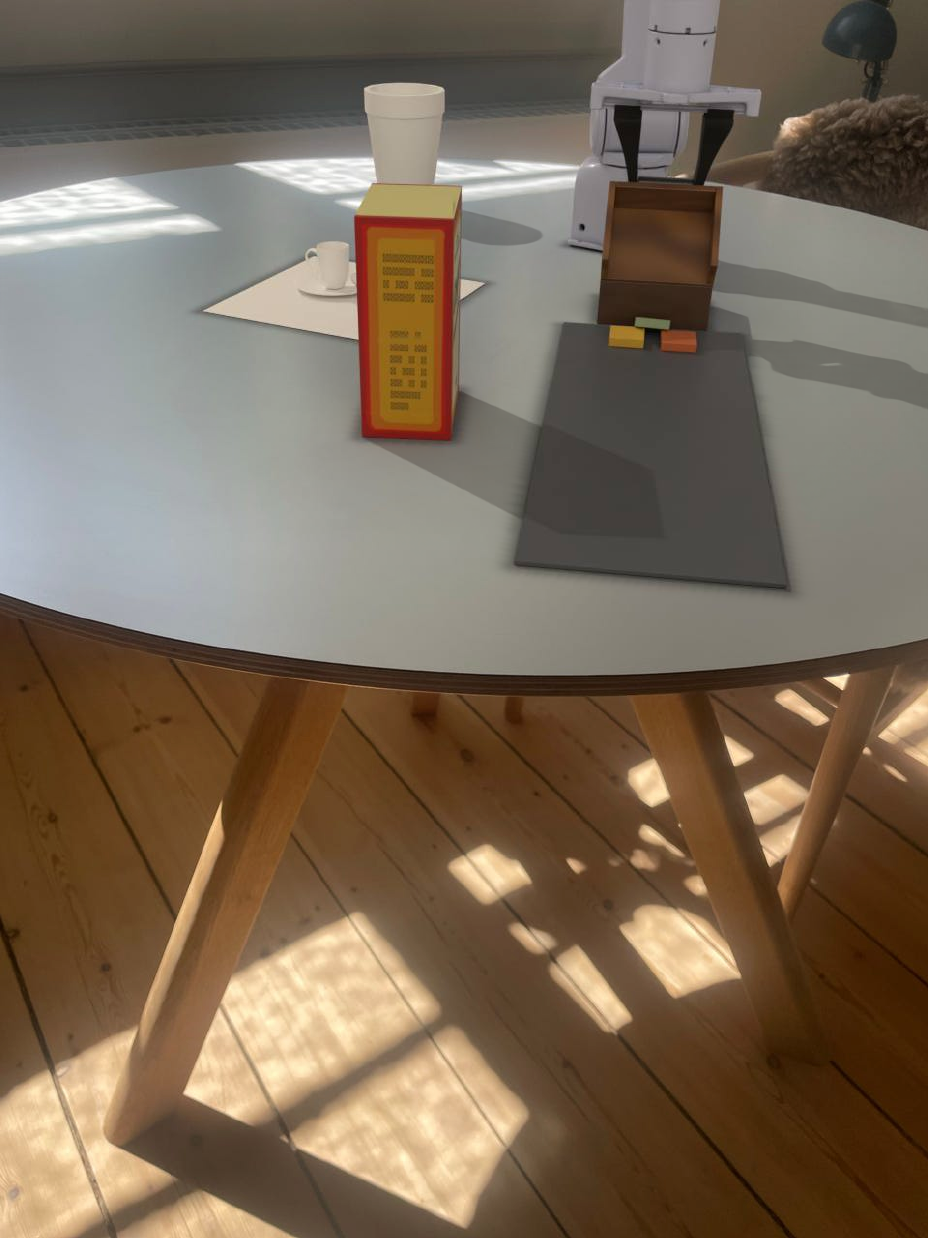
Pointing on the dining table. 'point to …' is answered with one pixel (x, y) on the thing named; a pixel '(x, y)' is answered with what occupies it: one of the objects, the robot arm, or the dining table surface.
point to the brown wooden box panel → (654, 303)
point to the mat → (651, 464)
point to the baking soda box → (409, 309)
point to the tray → (662, 231)
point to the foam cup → (405, 130)
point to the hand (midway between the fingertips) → (663, 197)
